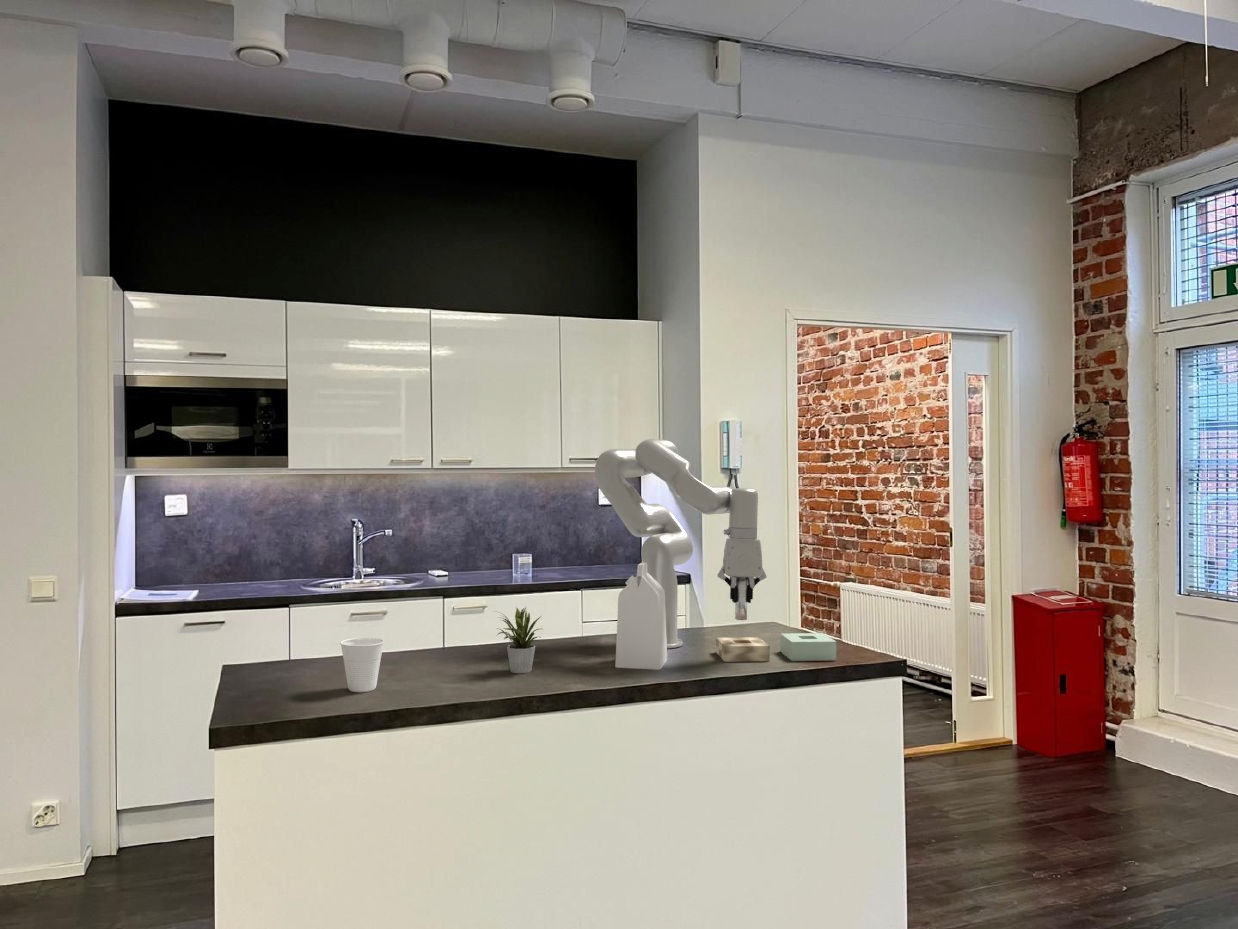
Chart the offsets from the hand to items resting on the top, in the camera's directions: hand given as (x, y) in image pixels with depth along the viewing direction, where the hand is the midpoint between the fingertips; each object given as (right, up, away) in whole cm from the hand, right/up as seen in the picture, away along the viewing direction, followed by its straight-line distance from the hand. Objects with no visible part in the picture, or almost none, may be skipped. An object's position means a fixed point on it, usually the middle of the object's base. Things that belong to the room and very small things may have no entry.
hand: (741, 601), depth 259 cm
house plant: (-58, -15, -18) cm, 63 cm away
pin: (0, -5, 0) cm, 5 cm away
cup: (-92, -15, -39) cm, 101 cm away
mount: (0, -15, 0) cm, 15 cm away
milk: (-27, -15, -9) cm, 32 cm away
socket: (+18, -15, +1) cm, 24 cm away
